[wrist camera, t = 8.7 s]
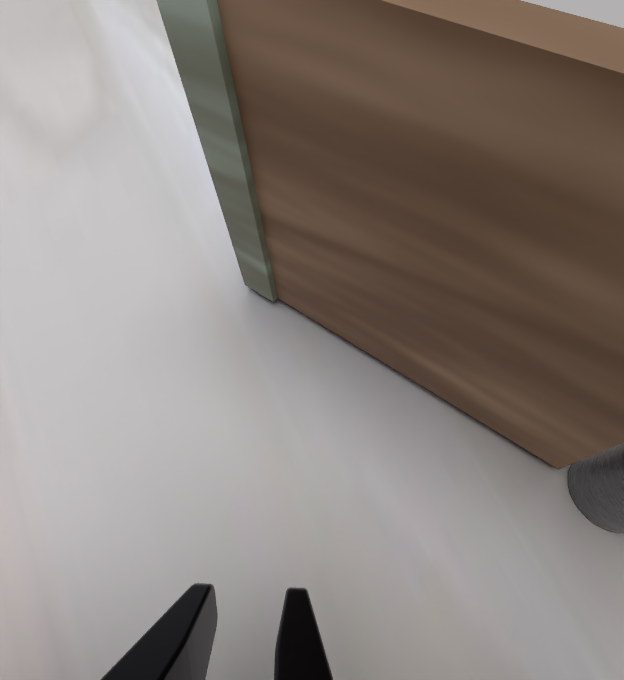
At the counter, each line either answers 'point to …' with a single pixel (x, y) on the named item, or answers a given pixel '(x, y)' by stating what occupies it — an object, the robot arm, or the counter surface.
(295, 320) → the counter surface
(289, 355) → the counter surface
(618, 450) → the gate post
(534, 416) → the gate
